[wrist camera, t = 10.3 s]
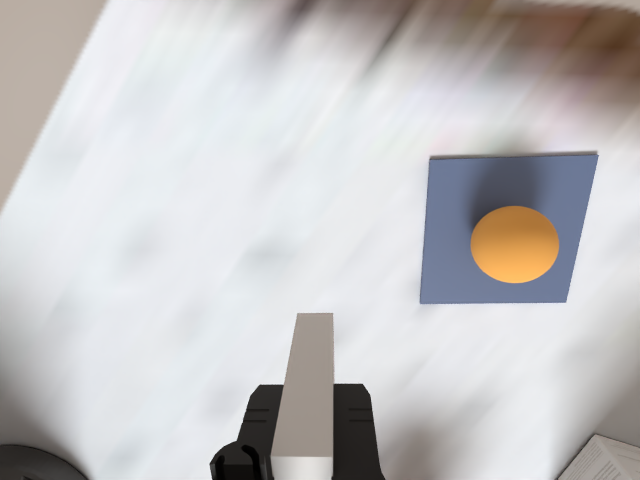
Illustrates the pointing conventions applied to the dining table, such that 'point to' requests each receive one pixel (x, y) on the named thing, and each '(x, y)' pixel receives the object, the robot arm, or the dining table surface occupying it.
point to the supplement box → (605, 461)
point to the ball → (514, 244)
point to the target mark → (488, 195)
